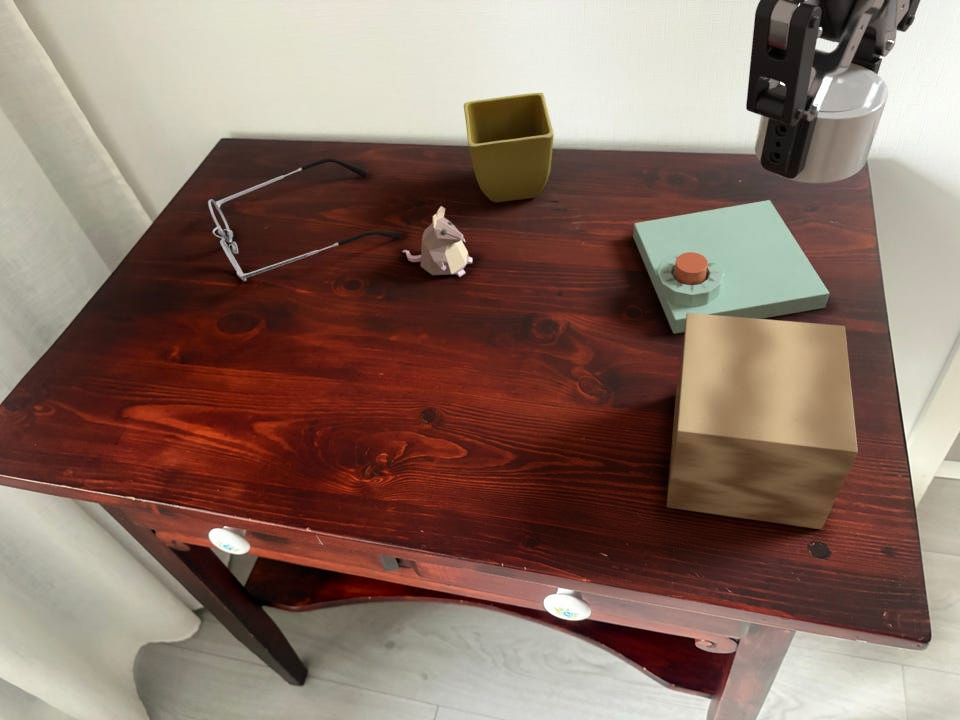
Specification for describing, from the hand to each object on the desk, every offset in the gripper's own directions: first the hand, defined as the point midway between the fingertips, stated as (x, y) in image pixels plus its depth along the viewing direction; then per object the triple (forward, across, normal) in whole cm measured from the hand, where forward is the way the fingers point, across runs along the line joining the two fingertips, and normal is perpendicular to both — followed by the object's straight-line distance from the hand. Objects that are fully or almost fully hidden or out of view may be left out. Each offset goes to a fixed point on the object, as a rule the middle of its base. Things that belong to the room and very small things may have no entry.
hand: (812, 141), depth 42 cm
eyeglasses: (+26, -9, +50) cm, 57 cm away
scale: (+26, +14, +11) cm, 31 cm away
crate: (+26, -4, -2) cm, 26 cm away
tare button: (+23, +8, +11) cm, 27 cm away
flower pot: (+26, +11, +36) cm, 46 cm away
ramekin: (+1, 0, 0) cm, 1 cm away
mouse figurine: (+26, -3, +34) cm, 43 cm away
